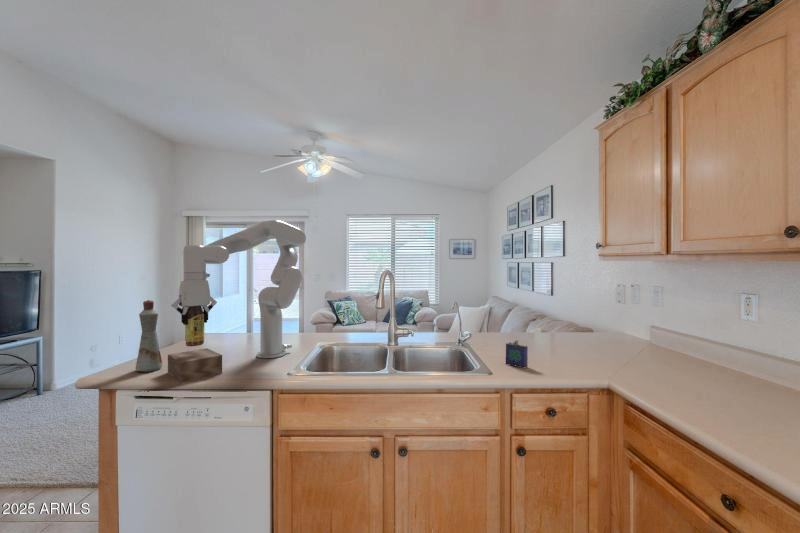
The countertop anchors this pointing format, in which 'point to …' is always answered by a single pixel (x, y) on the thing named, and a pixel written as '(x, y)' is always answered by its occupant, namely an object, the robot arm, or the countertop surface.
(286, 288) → the robot arm
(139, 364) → the bottle
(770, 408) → the countertop surface
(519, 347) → the flask
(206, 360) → the walnut block
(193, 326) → the sauce bottle
